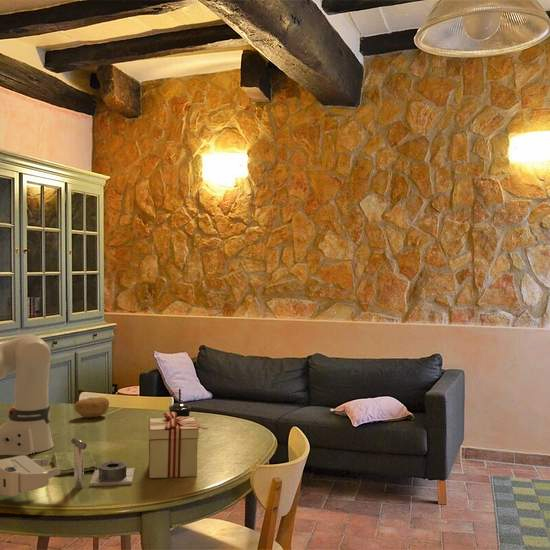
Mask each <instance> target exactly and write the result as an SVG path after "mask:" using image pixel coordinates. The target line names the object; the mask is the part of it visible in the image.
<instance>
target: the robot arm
mask: <svg viewBox="0 0 550 550" xmlns="http://www.w3.org/2000/svg"><path fill="white" fill-rule="evenodd" d="M50 348H51V347H50V346H49V344H48V343H47V342H46V341H44V340H43V339H42V338H41V337H39V336H38V335H35V334H31V333H30V334H25V335H21V336H18V337H15V338H12V339H10V340H8V341H5V342H2V343H0V380H2V379H3V378H6V377H7V376H9V375H11V374H13V373H15V378H14V406H12V407H10V408H9V410H8V413H7V416H8V420H6V421H5V422H4V423H2V424H1V425H0V456H12V457H8V458H6V457H5V458H3V459H0V495H4V496H8V497H17V496H18V495H19V493H26V492H27V493H28V492H32V491H34V490H35V491H36V490H39V489H43V488H45V487H46V486H48V485H49V484H50V481H49V480H50V479H51V478H53V477H55V476H59V474H60V473H61V469H60V468H59V467H55V466H53V467H52V468H51V469H44V468H43V467H47V466H49V462H50V461H49V459H48V458H30V457H29V456H30V455H29V454H31V455H32V453H33V454H35V452H36V453H40V452H43V451H47V450H50V449H52V448H53V447H54V442H53V438H52V433H51V432H52V431H51V426H50V422H51V409H50V408H51V406H50V404H49V381H50V379H49V378H50V371H51V370H50V369H51V349H50Z"/></svg>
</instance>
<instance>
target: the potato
mask: <svg viewBox="0 0 550 550" xmlns="http://www.w3.org/2000/svg"><path fill="white" fill-rule="evenodd" d="M109 407H110V401H109V399H108V398H107V397H105V396H102V397H101V396H99V397H89V398H82V399H79V400H78V401H76V402H75V403H74V406H73V408H74V411H75V412H76V413H77V414H78V415H80V416H81V417H83V418H88V419H90V418H91V419H92V417H94V418H97V417H98V418H99V417H100V416H101V417H102V415H104V414H106V413H107V411H108V410H109Z"/></svg>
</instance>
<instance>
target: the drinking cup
mask: <svg viewBox="0 0 550 550" xmlns="http://www.w3.org/2000/svg"><path fill="white" fill-rule="evenodd" d="M181 390H182V389H181V388H179V389H178V403H174V404H172V405H170V406H168V410H169V412H176V413H177V417H179V416H181V417H188V416H190V411H191V408H192V407H191V405H188V404H186V403H183V402H182V399H181V398H182V394H181V393H182V391H181Z"/></svg>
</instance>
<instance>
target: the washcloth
mask: <svg viewBox="0 0 550 550" xmlns="http://www.w3.org/2000/svg"><path fill="white" fill-rule="evenodd" d="M83 451H84V472H91V470H93V471H95V470H99V465H98V464H97V461H96V459H95V457H94V456H93V453H92V452H91V451H90V450H83ZM50 461H51V463H52V464H53V467H59V468H60V469H61V473H60V474H59V475H60V476H64V474H66V475H70V474H69V473H73V474H74V451H72V452H71V451H70V452H66V451H65V452H64V451H63V452H54V453H53V455H52V457H51V460H50ZM59 475H58V476H59Z"/></svg>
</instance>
